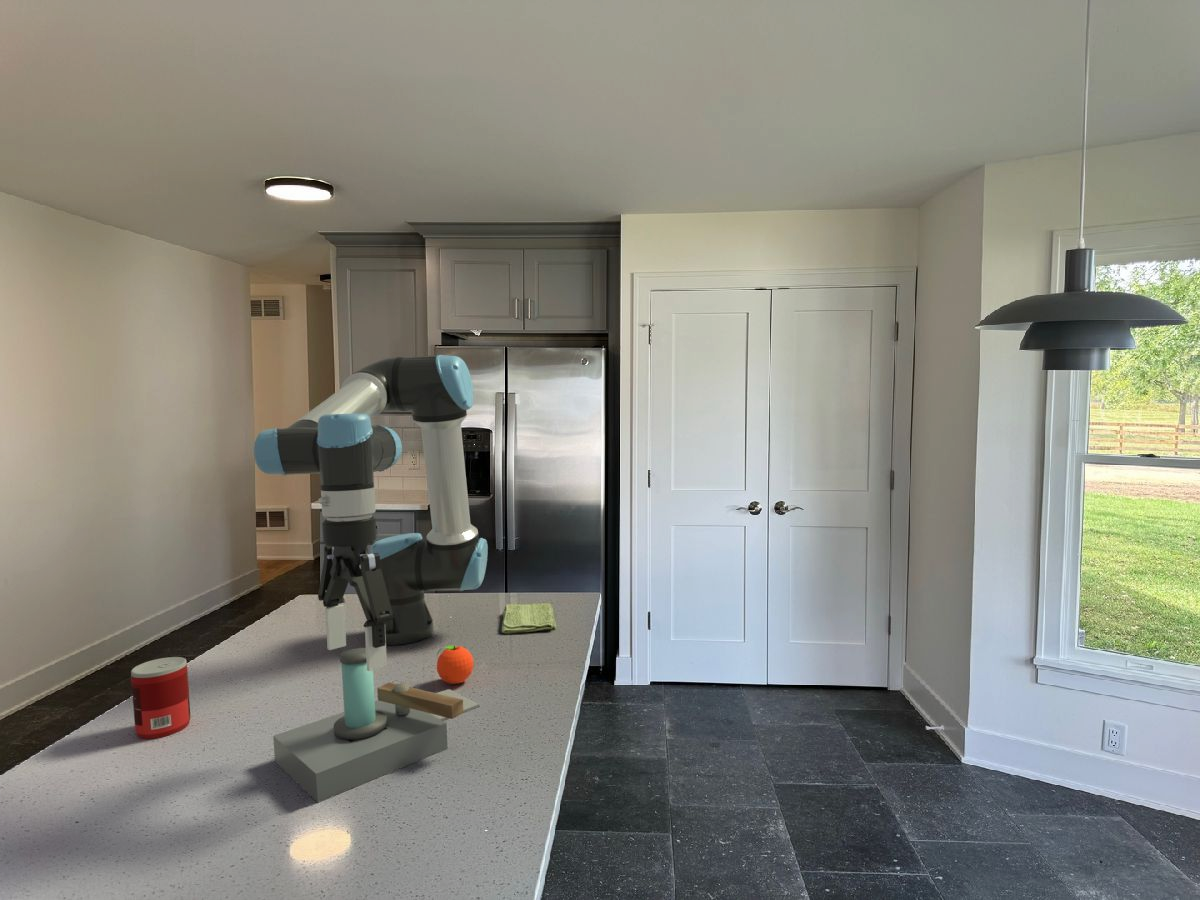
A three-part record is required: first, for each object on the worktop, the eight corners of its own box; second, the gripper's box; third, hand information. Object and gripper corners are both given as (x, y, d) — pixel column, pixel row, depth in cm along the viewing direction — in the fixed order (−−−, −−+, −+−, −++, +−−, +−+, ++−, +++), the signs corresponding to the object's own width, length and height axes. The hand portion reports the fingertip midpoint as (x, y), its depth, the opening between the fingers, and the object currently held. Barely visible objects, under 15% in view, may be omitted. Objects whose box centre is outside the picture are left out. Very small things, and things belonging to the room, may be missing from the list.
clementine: (425, 685, 132) (423, 648, 131) (449, 672, 138) (447, 637, 137) (458, 692, 128) (456, 654, 127) (481, 678, 134) (480, 642, 134)
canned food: (201, 721, 119) (197, 658, 119) (158, 742, 112) (153, 676, 111) (168, 716, 122) (164, 654, 121) (124, 736, 114) (119, 671, 114)
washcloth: (500, 637, 159) (500, 623, 159) (503, 615, 177) (502, 602, 177) (557, 633, 161) (557, 620, 161) (554, 611, 178) (553, 599, 178)
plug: (327, 755, 106) (321, 654, 105) (374, 738, 111) (369, 641, 110) (348, 773, 100) (342, 666, 99) (397, 754, 105) (392, 652, 104)
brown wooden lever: (390, 704, 113) (388, 678, 113) (463, 723, 105) (462, 695, 105) (378, 710, 111) (377, 684, 111) (452, 730, 103) (451, 702, 103)
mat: (399, 708, 122) (399, 706, 122) (448, 690, 129) (448, 688, 129) (428, 725, 115) (428, 723, 114) (479, 706, 121) (479, 704, 121)
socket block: (274, 761, 104) (273, 735, 104) (397, 717, 118) (395, 694, 118) (317, 802, 93) (316, 773, 93) (447, 748, 107) (446, 723, 106)
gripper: (291, 513, 110) (298, 645, 111) (362, 528, 92) (370, 685, 93) (338, 508, 115) (344, 634, 116) (413, 521, 97) (420, 670, 98)
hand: (356, 657), depth 104 cm, fingers open, 13 cm apart
